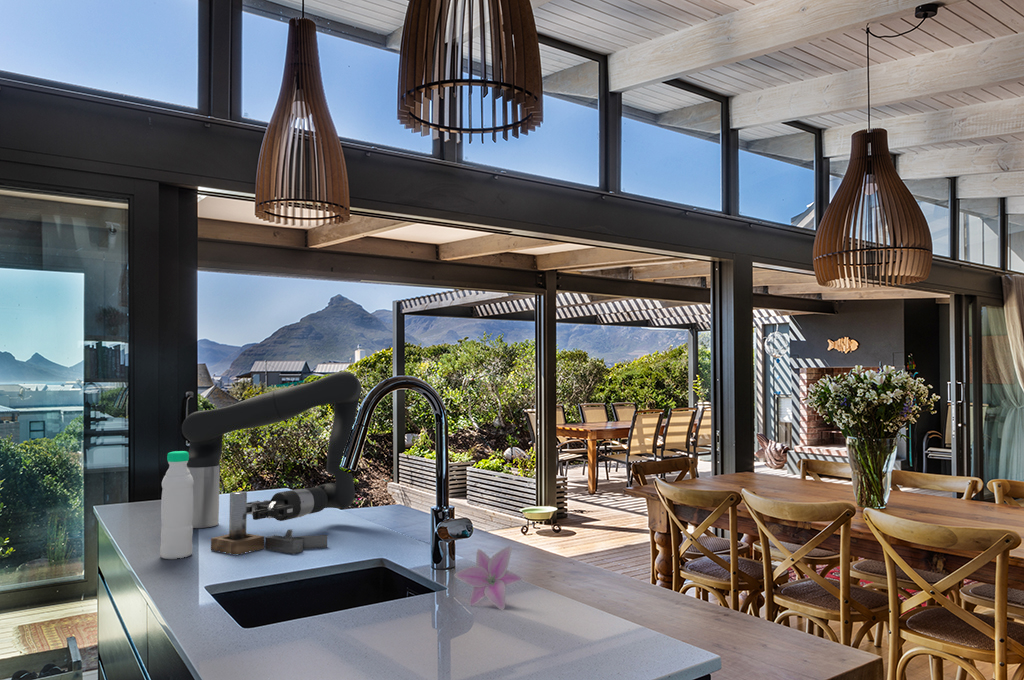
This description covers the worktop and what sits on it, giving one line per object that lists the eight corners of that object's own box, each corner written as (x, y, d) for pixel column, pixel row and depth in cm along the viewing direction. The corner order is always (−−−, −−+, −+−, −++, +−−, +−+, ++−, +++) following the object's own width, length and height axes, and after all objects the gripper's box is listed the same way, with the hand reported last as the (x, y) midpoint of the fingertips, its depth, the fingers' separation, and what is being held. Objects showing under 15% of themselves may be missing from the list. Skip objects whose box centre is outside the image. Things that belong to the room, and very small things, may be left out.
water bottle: (169, 561, 169) (171, 453, 171) (154, 557, 174) (156, 452, 175) (198, 555, 175) (199, 451, 176) (182, 551, 179) (184, 449, 181)
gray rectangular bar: (225, 550, 180) (226, 493, 181) (239, 546, 184) (239, 491, 184) (236, 552, 178) (236, 494, 179) (249, 548, 182) (250, 492, 182)
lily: (448, 603, 140) (445, 566, 136) (490, 568, 148) (487, 532, 144) (494, 635, 133) (492, 597, 129) (535, 597, 141) (534, 560, 137)
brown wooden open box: (210, 550, 180) (211, 538, 180) (237, 543, 187) (238, 532, 187) (237, 555, 175) (237, 542, 175) (264, 548, 182) (264, 536, 182)
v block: (259, 548, 182) (259, 536, 182) (290, 540, 190) (290, 529, 190) (299, 555, 174) (299, 542, 175) (329, 547, 183) (329, 535, 183)
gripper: (274, 488, 200) (224, 496, 186) (311, 492, 193) (261, 501, 179) (274, 515, 200) (223, 526, 186) (311, 520, 192) (261, 532, 178)
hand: (242, 514), depth 182 cm, fingers open, 8 cm apart
